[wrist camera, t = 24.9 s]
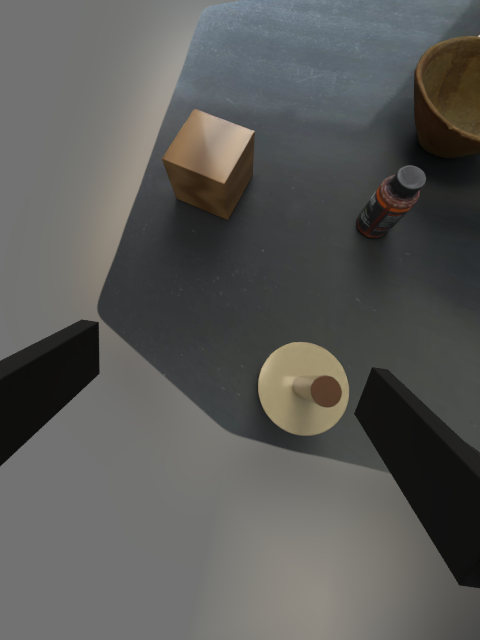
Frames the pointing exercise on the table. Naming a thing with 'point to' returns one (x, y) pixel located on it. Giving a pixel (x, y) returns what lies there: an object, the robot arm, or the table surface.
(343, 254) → the table surface
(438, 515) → the robot arm
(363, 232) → the supplement bottle
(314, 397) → the lid
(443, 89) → the bowl
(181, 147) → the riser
